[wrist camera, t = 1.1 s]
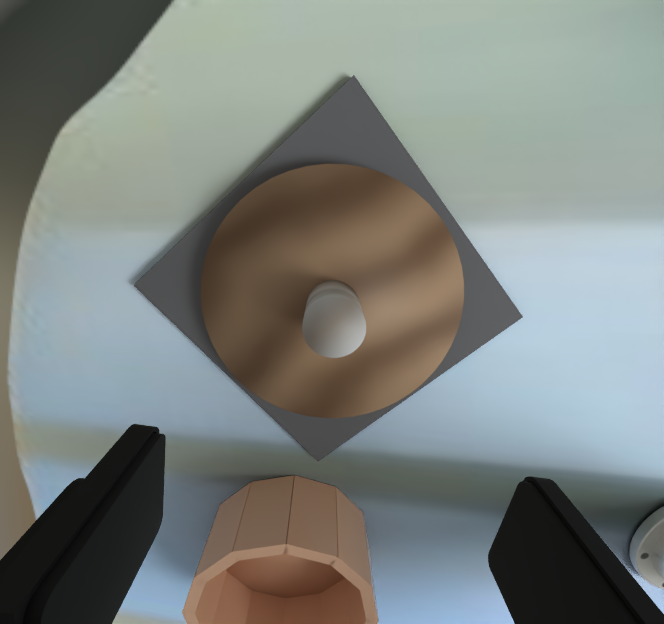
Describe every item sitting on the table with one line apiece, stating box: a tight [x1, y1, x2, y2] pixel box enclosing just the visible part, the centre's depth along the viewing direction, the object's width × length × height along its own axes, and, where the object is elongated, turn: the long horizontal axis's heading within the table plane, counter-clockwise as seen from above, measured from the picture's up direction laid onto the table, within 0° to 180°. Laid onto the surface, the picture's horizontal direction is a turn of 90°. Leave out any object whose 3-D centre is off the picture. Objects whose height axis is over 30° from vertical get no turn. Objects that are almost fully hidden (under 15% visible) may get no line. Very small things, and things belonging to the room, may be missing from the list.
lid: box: [201, 164, 464, 418], centre depth 24 cm, size 20×20×6 cm
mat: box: [134, 76, 523, 461], centre depth 27 cm, size 22×22×1 cm
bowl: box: [182, 475, 378, 624], centre depth 32 cm, size 16×16×7 cm
